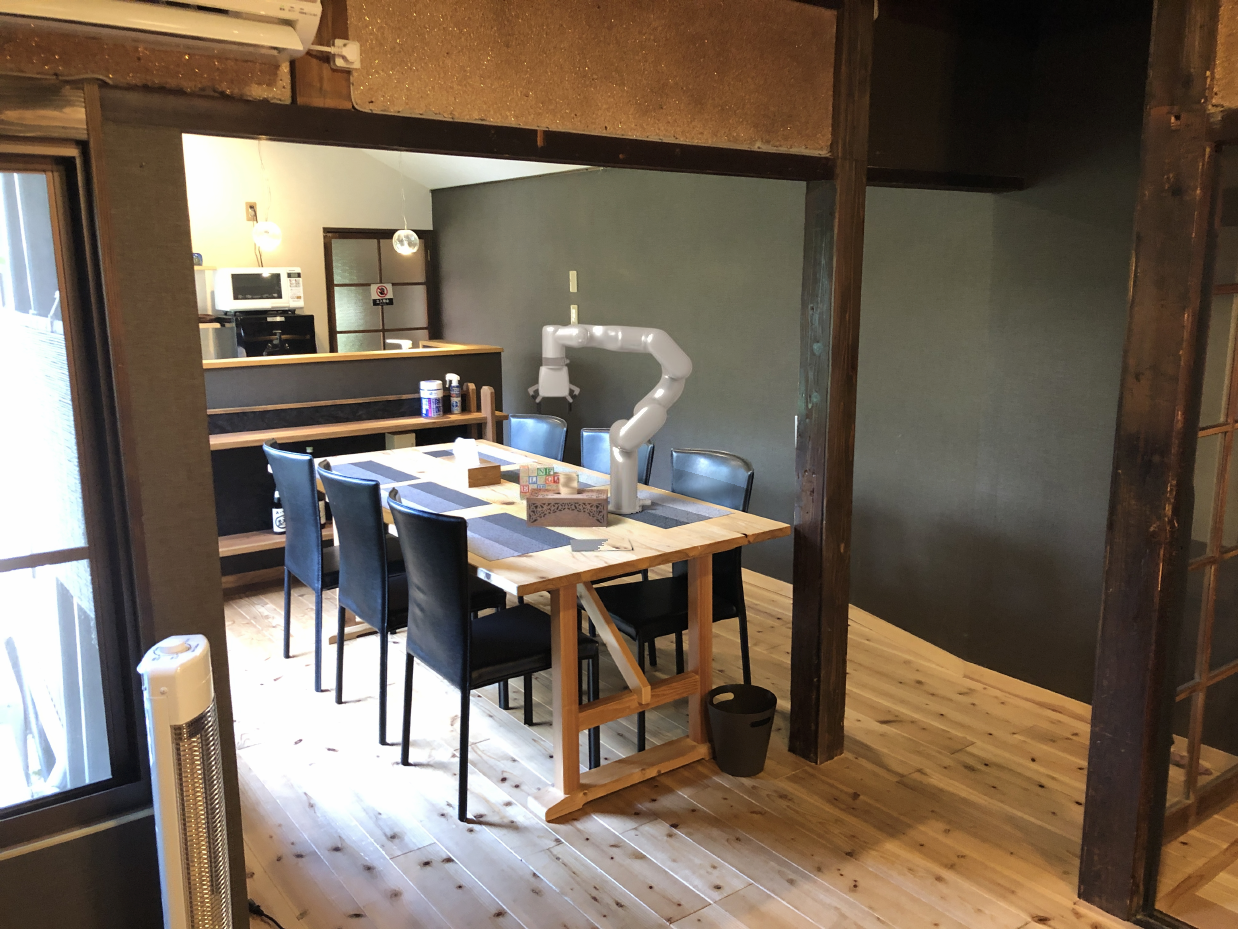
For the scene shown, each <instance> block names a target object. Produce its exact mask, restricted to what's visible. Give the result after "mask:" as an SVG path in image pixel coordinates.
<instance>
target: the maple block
mask: <svg viewBox="0 0 1238 929" xmlns="http://www.w3.org/2000/svg"><path fill="white" fill-rule="evenodd" d="M559 488H560V493H561V494H562V495H577V476H576V475H575V474H559Z"/></svg>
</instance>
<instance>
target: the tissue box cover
mask: <svg viewBox="0 0 1238 929" xmlns="http://www.w3.org/2000/svg"><path fill="white" fill-rule="evenodd" d="M608 498H609V488H579V489H577V495H562V494H561V493H560V488H531V490H530V492H529V494H528V495H527V497H526V500H525V502H526V504H525V505H526V506H525V507H526V527H528V528H538V527H539V528H593V527H606V528H607V525H608V519H607V518H609V517H608V516H609V515H608V514H609V512H608V505H609V504H608V502H609V499H608Z"/></svg>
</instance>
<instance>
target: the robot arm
mask: <svg viewBox="0 0 1238 929" xmlns="http://www.w3.org/2000/svg"><path fill="white" fill-rule="evenodd" d="M541 334H542V337H541V338H542V339H541V343H542V352H541V353H542V355H541V356H542V359H541V360H542V365H541V366H540V367H539V374H538V383H537V384H535V385H533V386H531V387H529V388H528V389H527V392H528V393H529V395H530V397H531V399H533V400H534V401H535V402H536V413H537V412H538V415H541V414H542V402H541V400H542V398H563V397H564V398H566V399H567V401H566V414H568V415H571V414H570V412H572V411H573V410H572V408H573V407H572V405H573V404H572V403H573V401H574V400H575V399H576V398H577V397H578V394H579V393H580V390H581V389H580V388H579V387H577V386H575V385H573V384H572V383H570V378H569V377H570V376H569V369H568V366H567V364H570V358H569V359H568V358H566V347H567V348H568V347H570V348H575V349H578V348H579V349H580V348H582V347H590V348H598V349H605V350H607V351H608V350H609V351H612V352H623V353H624V352H626V353H641V354H651V355H652V356H653V358H655V359H656V361H657V362H658V363H659V365H661V372H662V373H661V378H660V380H659V381H658V383H657V384H656V385H655V386H654V388H653V389H652V390H651V391H649V392H648V394H647V395H645V396H644V397H643V398H642V399H641V400H639V402H637V403H636V405H635V406H634V409H633V416H632V417H631V418H629V420H628V419H625V418H624V419H618V420H616V421H615V422H614V423H613V424H612V425H611V426H610V428H609V433H608V440H609V441H608V442H609V457H610V458H609V459H610V460H609V461H610V463H609V464H610V466H609V468H610V469H609V470H610V473H609V478H610V479H609V485H610V486H609V504H608V513H611V514H617V515H630V514H631V513H633V514H637V513H636V512H638V513H640V512H642V510H643V508H642V507H643V506H651V504H652V500H651V499H646V498H642V499H641V498H640V497H639V496H638V480H639V479H638V478H639V477H638V476H639V475H638V472H639V471H638V470H639V468H638V467H639V453H638V452H639V451H638V450H639V449H640V448H641V447H643V446H645V445H646V443H647V442H648V441H649V440H650V439H651V438H652V437H653V436H654V435H655V434H657V432H659V430H660V429H661V428H663V426H664V425H665V423H666V421H667V418H668V415H667V411H668V409H669V410H670V408H671V407H672V406H673V404H674V403H676V402H677V401H678V399H679V398H680V397H681V395H682V393H683V391H684V388H685V384H686V379H687V378H689V376H690V375H691V374H692V371H693V363H692V360H691V358H690V357H689V356H688V355H687V354H686V353H685V352H684V350H683V349H682V348H681V347H680V346H679V344H677V343H676V342H675V340H673V338H672V337H671V336H670V335H669V334H668V333H667V332H666V331H665V330H663V329H659V328H654V327H643V326H627V325H626V326H625V325H597V324H596V325H594V324H583V323H581V324H580V323H571V324H567V325H566V326H563V325H561V324H560V325H559V324H549V325H544V326H543V327H542V333H541ZM570 389H571V390H573V391H574V392H573V394H572V395H571V396H570ZM535 390H538V393H539V395H538V396H536V394H535V393H534V391H535ZM639 511H640V512H639ZM631 515H632V514H631Z"/></svg>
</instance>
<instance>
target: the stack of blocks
mask: <svg viewBox="0 0 1238 929" xmlns="http://www.w3.org/2000/svg"><path fill="white" fill-rule="evenodd" d="M518 466H519V475H518V476H519V477H518V478H519V480H518V481H519V498H520V501H526V497H527V495H528V494H529V492H530V490H531V488H559V474H575V475H576V476H577V489H580V477H579V476H580V474H579V473H578V471H555V467H554V465H553V463H543V464H541V463H540V464H519V465H518Z"/></svg>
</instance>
